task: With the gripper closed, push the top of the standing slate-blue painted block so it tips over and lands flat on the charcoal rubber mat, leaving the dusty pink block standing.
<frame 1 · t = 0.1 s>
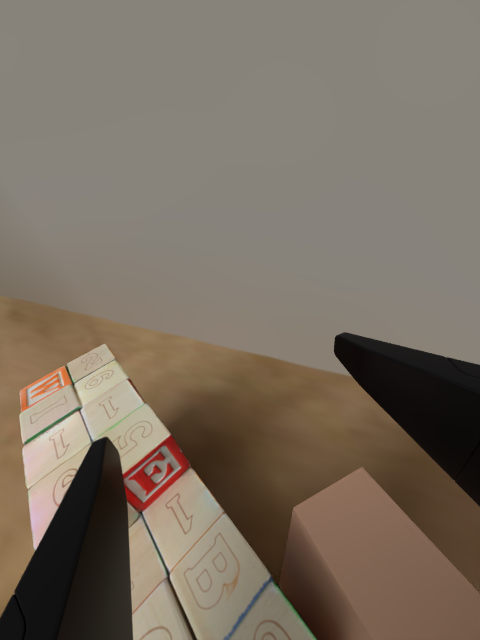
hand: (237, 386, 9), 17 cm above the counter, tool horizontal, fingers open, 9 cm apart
stack of blocks: (185, 546, 19), on the counter, touching dusty pink block
dusty pink block: (340, 626, 15), on the counter, tilted 10°, touching stack of blocks
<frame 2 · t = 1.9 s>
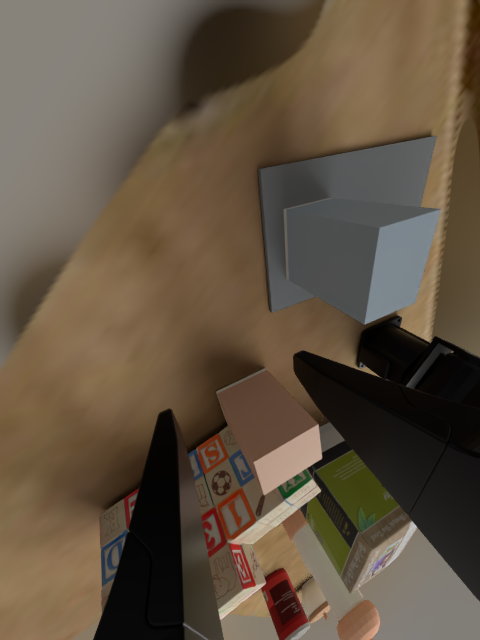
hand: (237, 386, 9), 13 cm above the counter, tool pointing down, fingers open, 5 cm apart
stack of blocks: (195, 461, 30), on the counter, touching dusty pink block
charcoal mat: (348, 226, 24), on the counter
lidded jar: (308, 580, 88), on the counter
slate blue block: (307, 240, 22), resting on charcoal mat
canned food: (272, 576, 67), on the counter
salt shaker: (295, 509, 52), on the counter
tea box: (313, 452, 43), on the counter
dusty pink block: (245, 394, 28), on the counter, tilted 7°, touching stack of blocks
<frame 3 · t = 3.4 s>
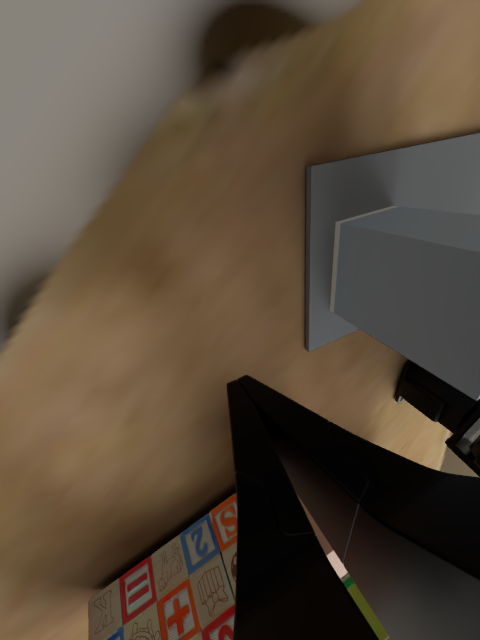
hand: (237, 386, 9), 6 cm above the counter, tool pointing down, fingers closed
stack of blocks: (206, 522, 25), on the counter, touching dusty pink block
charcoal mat: (408, 241, 18), on the counter
slate blue block: (359, 261, 17), resting on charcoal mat
tea box: (336, 490, 38), on the counter
dusty pink block: (269, 445, 23), on the counter, tilted 7°, touching stack of blocks
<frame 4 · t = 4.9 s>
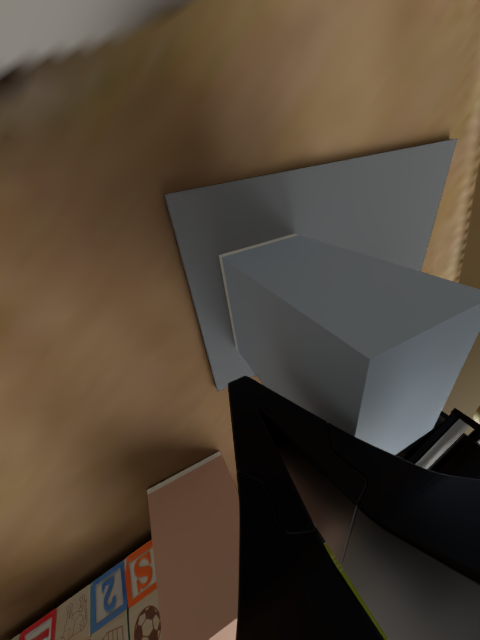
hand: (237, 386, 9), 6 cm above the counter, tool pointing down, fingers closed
stack of blocks: (129, 565, 23), on the counter, touching dusty pink block
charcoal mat: (327, 269, 16), on the counter
slate blue block: (263, 294, 15), resting on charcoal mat, touching gripper
tea box: (294, 517, 36), on the counter
dusty pink block: (192, 485, 21), on the counter, tilted 6°, touching stack of blocks
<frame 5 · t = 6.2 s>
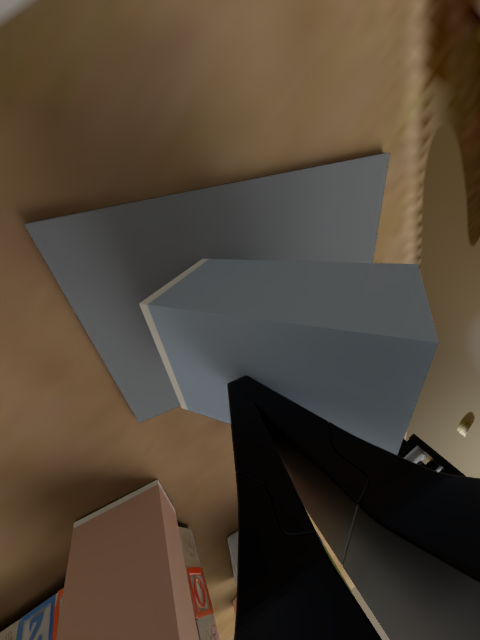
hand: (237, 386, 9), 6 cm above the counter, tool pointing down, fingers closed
stack of blocks: (68, 597, 22), on the counter, touching dusty pink block
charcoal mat: (254, 292, 15), on the counter
slate blue block: (192, 333, 13), point 2 cm above the counter, tilted 42°, touching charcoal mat, gripper
tea box: (262, 537, 35), on the counter
dusty pink block: (129, 515, 20), on the counter, tilted 7°, touching stack of blocks
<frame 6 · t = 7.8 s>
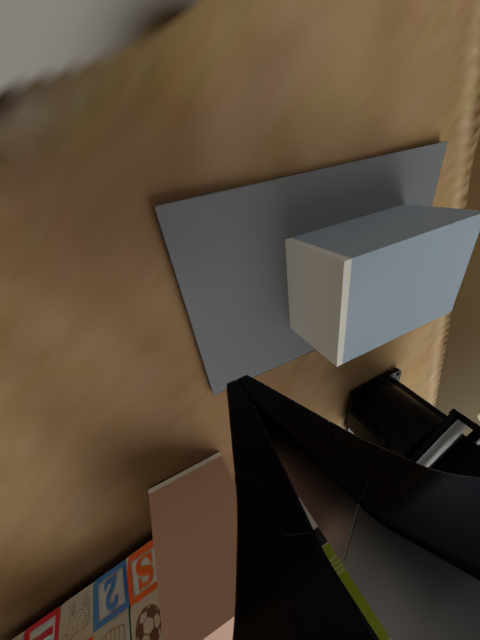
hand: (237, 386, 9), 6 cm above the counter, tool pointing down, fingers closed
stack of blocks: (131, 565, 23), on the counter, touching dusty pink block
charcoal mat: (320, 273, 17), on the counter
slate blue block: (310, 302, 14), point 3 cm above the counter, tilted 90°, touching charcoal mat
tea box: (296, 518, 36), on the counter
dusty pink block: (193, 485, 21), on the counter, tilted 6°, touching stack of blocks
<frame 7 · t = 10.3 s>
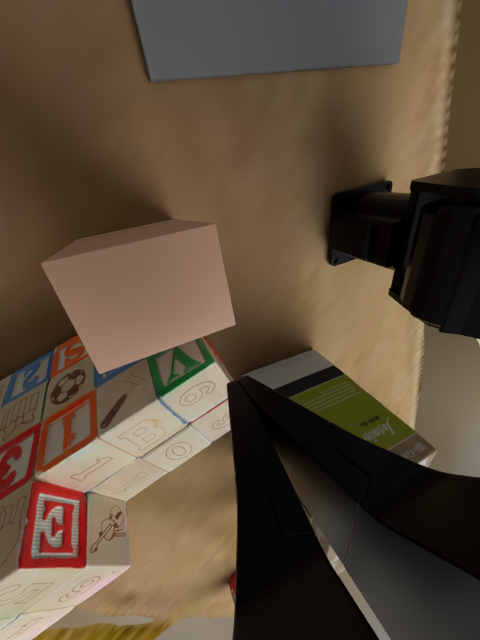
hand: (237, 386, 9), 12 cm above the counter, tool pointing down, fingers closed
stack of blocks: (68, 379, 19), on the counter, touching dusty pink block
tea box: (276, 402, 33), on the counter
dusty pink block: (140, 262, 18), on the counter, tilted 6°, touching stack of blocks
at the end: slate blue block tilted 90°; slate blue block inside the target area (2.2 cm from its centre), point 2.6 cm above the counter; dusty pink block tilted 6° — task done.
